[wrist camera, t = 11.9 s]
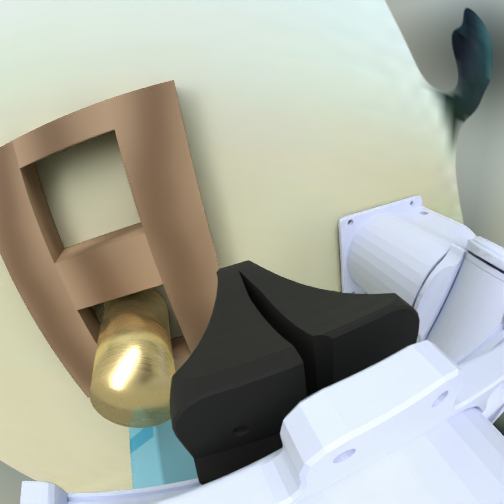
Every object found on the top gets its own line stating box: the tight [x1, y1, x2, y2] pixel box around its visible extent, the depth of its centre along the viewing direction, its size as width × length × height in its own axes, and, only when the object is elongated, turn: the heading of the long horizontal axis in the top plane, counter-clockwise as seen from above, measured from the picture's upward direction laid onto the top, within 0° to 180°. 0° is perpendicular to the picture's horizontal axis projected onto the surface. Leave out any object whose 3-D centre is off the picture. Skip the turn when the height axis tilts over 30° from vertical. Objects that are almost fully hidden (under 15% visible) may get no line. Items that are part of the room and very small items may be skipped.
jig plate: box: [0, 80, 220, 397], centre depth 19 cm, size 14×20×2 cm
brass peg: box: [90, 288, 175, 428], centre depth 18 cm, size 5×5×9 cm
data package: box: [129, 419, 198, 489], centre depth 23 cm, size 12×4×12 cm, turn 44°
